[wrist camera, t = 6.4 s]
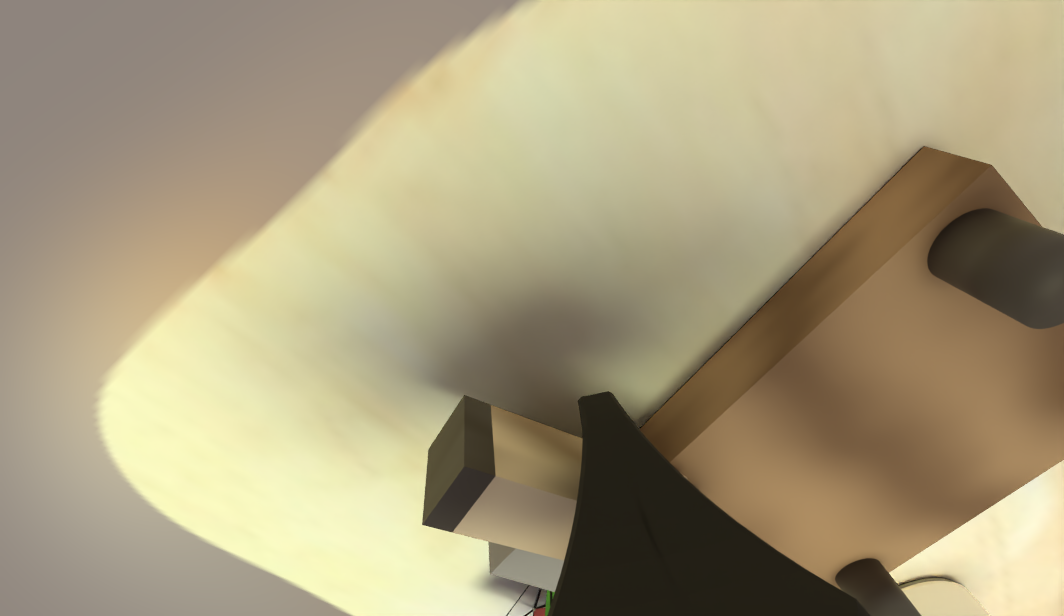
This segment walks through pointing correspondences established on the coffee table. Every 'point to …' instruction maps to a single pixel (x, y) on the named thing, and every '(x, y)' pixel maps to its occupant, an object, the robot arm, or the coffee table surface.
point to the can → (942, 598)
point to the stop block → (524, 566)
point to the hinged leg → (503, 479)
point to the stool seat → (886, 382)
